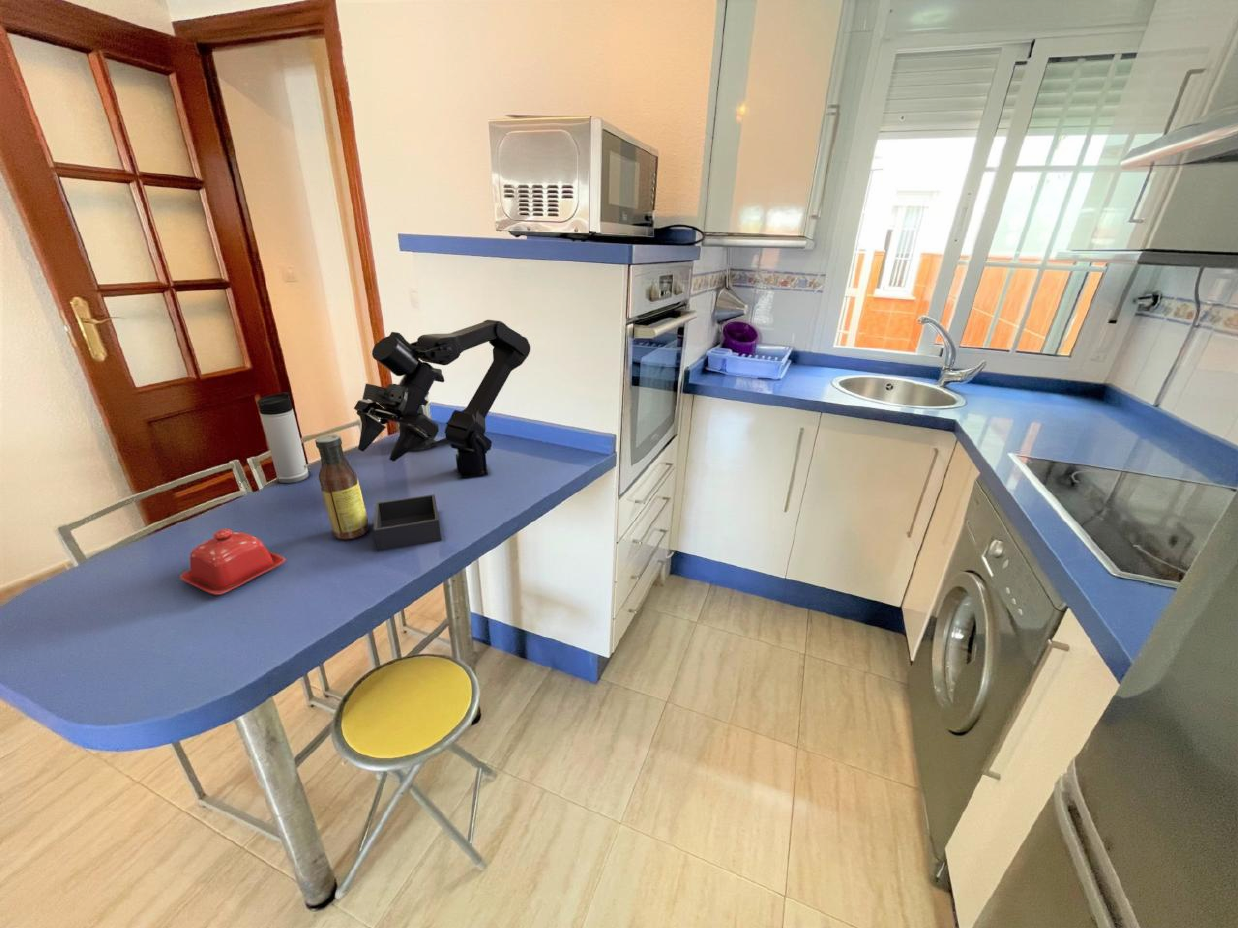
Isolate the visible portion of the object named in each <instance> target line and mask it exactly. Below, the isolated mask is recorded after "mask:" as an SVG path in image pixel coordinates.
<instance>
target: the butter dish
mask: <svg viewBox="0 0 1238 928" xmlns="http://www.w3.org/2000/svg"><path fill="white" fill-rule="evenodd" d="M286 559H287V558H285V557H283V556H281V555H279V554H277V553H275V552H272V551H269V550H268V549H267V548H266V546H265V544H264V543H263V541H261V540H260V539H259V538H257V537H256V536H253V534H249V533H246V532H242V531H241V532H240V531H233V530H232V529H229V528H222V529H219V530H217V531H215V532H214V533H213V538H211V539H208V540H207V541H205V542H203V543H201V544H199V545H197V546H196V547H195V548H193V550H192V551H191V552H190V555H189V563H190V569H188V570H187V571H184V573H182V574H180V576H179V578H180V580H182V581H183V582H186V583H187V584H190V585H192V586H194V587H196V588H197V589H200V590H201V591H204V592H206V593H208V594H211V595H215V596H221V595H224V594H226V593H228V592H230V591H232V590H234V589H236V588H238V587H240V586H242V585H243V584H245V583H248V582H249V581H252V580H254V579H256V578H258V577H259V576H262V575H263V574H266V573H267V572H269V571H271V570H273V569H276V568H277V567H280V566H281V565H283V564H284V563H285V562H286Z"/></svg>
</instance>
